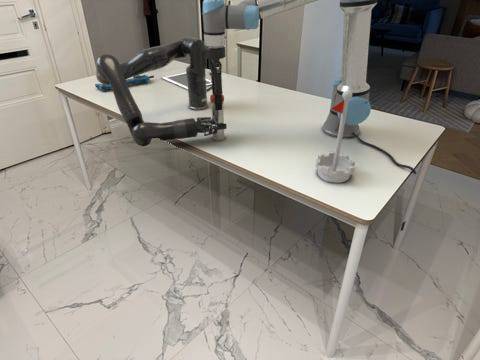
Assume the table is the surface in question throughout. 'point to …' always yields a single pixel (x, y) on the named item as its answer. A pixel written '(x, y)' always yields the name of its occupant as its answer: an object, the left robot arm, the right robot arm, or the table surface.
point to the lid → (212, 98)
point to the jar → (218, 121)
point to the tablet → (182, 80)
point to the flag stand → (337, 151)
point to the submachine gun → (135, 80)
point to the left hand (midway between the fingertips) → (224, 123)
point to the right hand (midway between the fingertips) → (217, 105)
